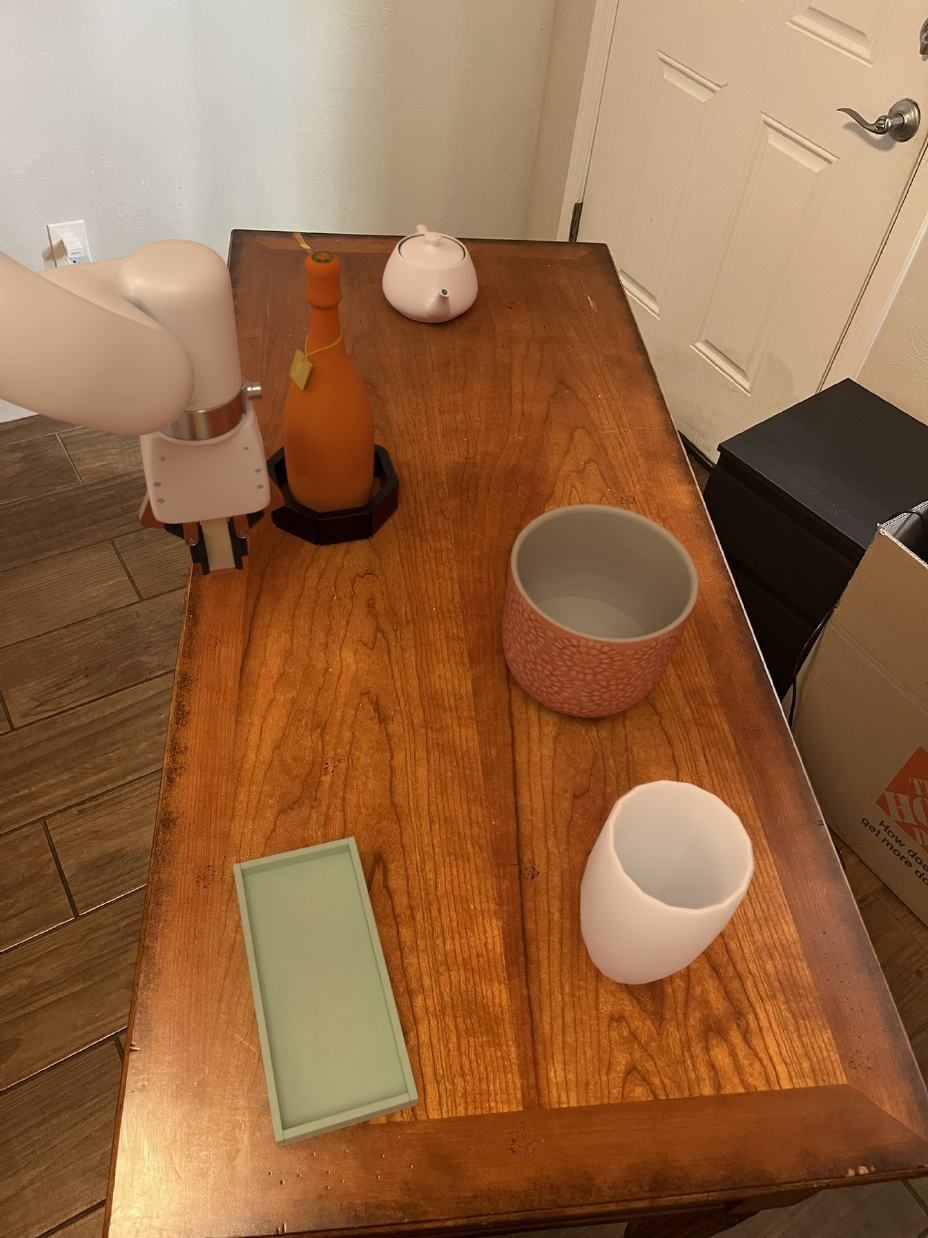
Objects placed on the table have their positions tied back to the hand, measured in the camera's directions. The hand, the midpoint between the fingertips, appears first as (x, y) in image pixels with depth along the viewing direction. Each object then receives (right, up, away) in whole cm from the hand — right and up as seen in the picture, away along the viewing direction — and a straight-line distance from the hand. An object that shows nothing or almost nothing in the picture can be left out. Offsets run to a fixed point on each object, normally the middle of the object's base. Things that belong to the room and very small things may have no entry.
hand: (220, 561), depth 89 cm
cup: (+35, -34, -12) cm, 50 cm away
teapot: (+18, +40, +48) cm, 65 cm away
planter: (+34, -11, +7) cm, 37 cm away
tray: (+12, -34, -15) cm, 39 cm away
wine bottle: (+8, +9, +21) cm, 24 cm away
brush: (-1, +7, +4) cm, 8 cm away
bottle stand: (+8, +8, +20) cm, 23 cm away
